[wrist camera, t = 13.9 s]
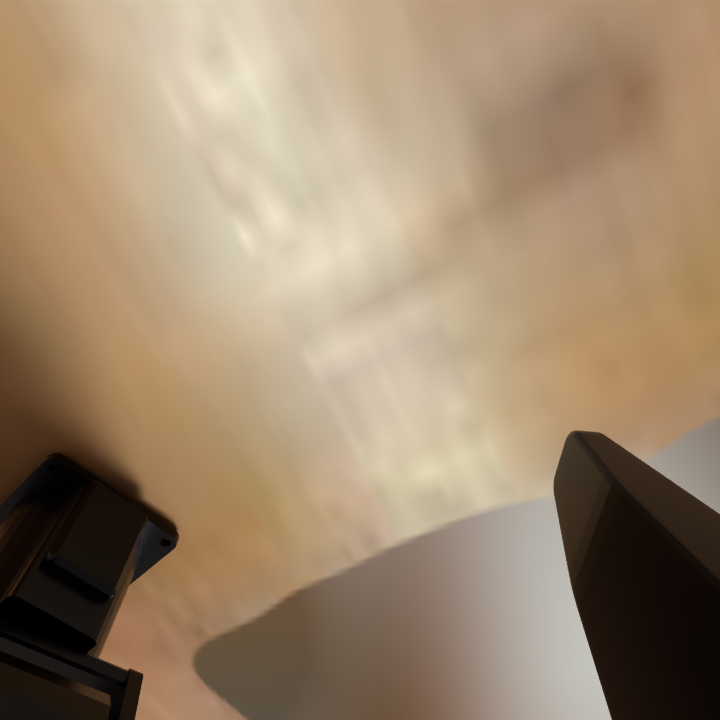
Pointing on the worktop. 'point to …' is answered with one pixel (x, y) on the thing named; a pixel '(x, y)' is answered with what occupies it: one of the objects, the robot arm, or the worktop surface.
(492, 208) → the worktop surface
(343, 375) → the worktop surface
